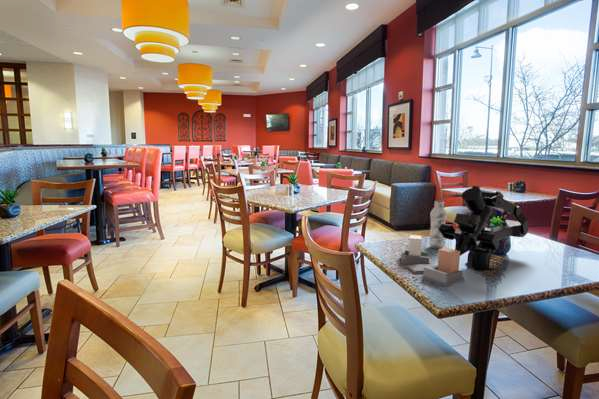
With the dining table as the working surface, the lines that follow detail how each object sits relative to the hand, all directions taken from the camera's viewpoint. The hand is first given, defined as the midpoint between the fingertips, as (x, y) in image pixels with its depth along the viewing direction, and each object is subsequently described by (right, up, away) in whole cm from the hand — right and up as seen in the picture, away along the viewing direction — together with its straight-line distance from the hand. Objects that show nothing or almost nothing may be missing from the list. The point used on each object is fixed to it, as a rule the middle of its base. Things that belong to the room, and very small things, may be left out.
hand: (455, 256), depth 113 cm
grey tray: (-7, -6, +6) cm, 11 cm away
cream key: (-9, -3, +15) cm, 18 cm away
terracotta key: (-3, -6, -2) cm, 7 cm away
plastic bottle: (+6, -2, +32) cm, 33 cm away
